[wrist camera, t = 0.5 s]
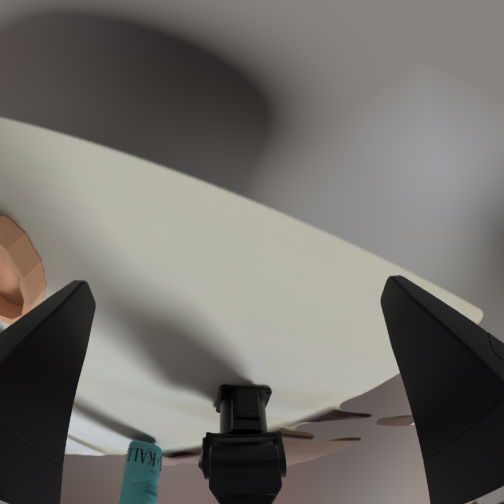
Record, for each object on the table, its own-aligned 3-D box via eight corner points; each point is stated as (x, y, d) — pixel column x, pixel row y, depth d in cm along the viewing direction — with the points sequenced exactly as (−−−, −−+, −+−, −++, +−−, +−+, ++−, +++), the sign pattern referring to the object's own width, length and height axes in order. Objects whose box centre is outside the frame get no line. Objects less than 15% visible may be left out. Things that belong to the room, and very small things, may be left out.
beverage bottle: (151, 448, 43) (140, 533, 25) (123, 435, 40) (107, 525, 23) (171, 444, 41) (162, 538, 24) (142, 430, 39) (127, 530, 21)
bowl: (55, 316, 26) (42, 336, 23) (-8, 296, 25) (-21, 311, 22) (34, 219, 21) (13, 235, 18) (-29, 212, 19) (-48, 224, 16)
